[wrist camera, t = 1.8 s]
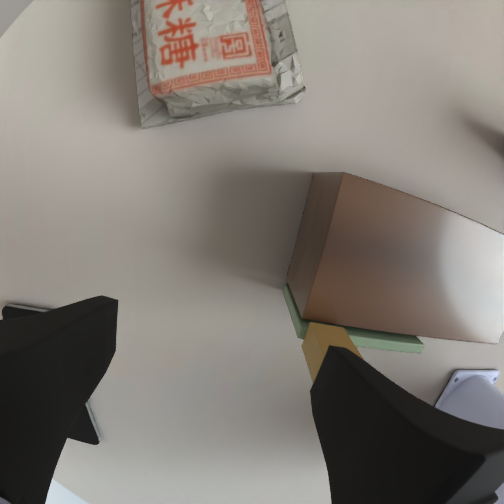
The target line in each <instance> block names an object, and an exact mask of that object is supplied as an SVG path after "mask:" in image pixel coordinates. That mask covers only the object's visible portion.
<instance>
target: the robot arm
mask: <svg viewBox="0 0 504 504" xmlns="http://www.w3.org/2000/svg"><path fill="white" fill-rule="evenodd" d="M117 312H118V300H116V299H113V298H109V297H106V296H97V297H93V298H89V299H86V300H82V301H79V302H76V303H73V304H70V305H66V306H63V307H60V308H56V309H53V310H49V311H45V312H41V313H37V314H33V315H29V316H24V317H18V318H11V319H3V320H0V504H45V501H46V498H47V493H48V490H49V487H50V483H51V480H52V477H53V474H54V471H55V468H56V465H57V462H58V460H59V457H60V454H61V452H62V449H63V446H64V444H65V442H66V439H67V437H68V435H69V433H70V430H71V428H72V426H73V424H74V422H75V420H76V419H77V417H78V415H79V413H80V412H81V410H82V409H83V407H84V406H85V404H86V402H87V401H88V399H89V398H90V396H91V395H92V393H93V392H94V390H95V389H96V387H97V385H98V384H99V382H100V381H101V379H102V378H103V376H104V374H105V373H106V371H107V369H108V367H109V364H110V362H111V360H112V358H113V356H114V353H115V351H116V329H117ZM499 374H500V371H499V370H457V371H455V372H454V374H453V376H452V377H451V379H450V381H449V383H448V385H447V386H446V388H445V390H444V392H443V393H442V395H441V397H440V398H439V400H438V402H437V403H436V405H435V406H434V407H433V406H431V405H429V404H428V403H426V402H424V401H422V400H420V399H418V398H417V397H415V396H413V395H412V394H410V393H408V392H407V391H405V390H404V389H402V388H401V387H399V386H398V385H397V384H395V383H394V382H392V381H391V380H389V379H388V378H387V377H385V376H384V375H383V374H381V373H380V372H379V371H377V370H376V369H375V368H374V367H372V366H371V365H370V364H368V363H367V362H366V361H364V360H363V359H362V358H360V357H359V356H358V355H356V354H355V353H353V352H352V351H350V350H349V349H347V348H345V347H338V346H331V345H329V347H328V349H327V352H326V354H325V357H324V359H323V362H322V364H321V367H320V369H319V371H318V374H317V376H316V378H315V381H314V383H313V385H312V388H311V390H310V395H311V405H312V413H313V418H314V422H315V425H316V429H317V433H318V436H319V440H320V443H321V447H322V451H323V454H324V458H325V462H326V466H327V470H328V476H329V483H330V491H331V501H332V504H504V395H503V394H502V393H501V392H500V391H499V390H498V389H497V388H496V387H495V386H494V384H495V382H496V380H497V378H498V376H499Z"/></svg>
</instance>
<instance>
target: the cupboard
mask: <svg viewBox="0 0 504 504" xmlns="http://www.w3.org/2000/svg"><path fill="white" fill-rule="evenodd" d="M286 279H287V282H288V284H289V287H290V289H291V292H292V294H293V297H294V299H295V302H296V304H297V307H298V309H299V312H300V314H301V317H302V318H303V319H308V320H314V321H320V322H326V323H332V324H338V325H344V326H350V327H357V328H363V329H370V330H377V331H384V332H391V333H398V334H406V335H414V336H422V337H430V338H439V339H448V340H457V341H467V342H478V343H490V344H497V343H498V341H499V339H500V336H501V334H502V332H503V330H504V234H502V233H500V232H498V231H496V230H494V229H492V228H490V227H487V226H485V225H483V224H481V223H479V222H476V221H474V220H472V219H470V218H467V217H465V216H463V215H460V214H458V213H456V212H453V211H451V210H448V209H446V208H444V207H441V206H439V205H436V204H434V203H431V202H428V201H426V200H423V199H421V198H418V197H415V196H413V195H410V194H407V193H405V192H402V191H399V190H396V189H393V188H391V187H388V186H385V185H382V184H379V183H376V182H373V181H370V180H367V179H364V178H361V177H358V176H355V175H351V174H348V173H345V172H320V173H313V177H312V181H311V185H310V189H309V193H308V197H307V201H306V205H305V209H304V213H303V217H302V221H301V224H300V228H299V232H298V236H297V240H296V243H295V247H294V251H293V255H292V258H291V262H290V266H289V269H288V273H287V277H286Z"/></svg>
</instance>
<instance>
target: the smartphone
mask: <svg viewBox="0 0 504 504" xmlns="http://www.w3.org/2000/svg"><path fill="white" fill-rule="evenodd" d="M45 311H49V310H45V309H39V308H32V307H26V306H20V305H14V304H8V305H6V306H5V307H4V308H3V310H2V316H3V319H11V318H18V317H24V316H29V315H33V314H37V313H41V312H45ZM67 438H71V439H74V440H78V441H81V442H85V443H89V444H93V445H97V444H99V442H100V440H101V437H100V434H99V431H98V429H97V426H96V424H95V421H94V418H93V416H92V413H91V410H90V407H89V404H88V401H87V402H86V404H85V406H84V407H83V409H82V410H81V412H80V413H79V415H78V417H77V419H76V420H75V422H74V424H73V426H72V428H71V430H70V433H69V435H68V437H67Z"/></svg>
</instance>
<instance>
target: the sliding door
mask: <svg viewBox="0 0 504 504" xmlns="http://www.w3.org/2000/svg"><path fill="white" fill-rule="evenodd" d="M283 293H284V296H285V299H286V303H287V306H288V309H289V312H290V315H291V318H292V321H293V324H294V327H295V330H296V334H297V337H298V338H301V339H304V341H303V344H302V349H303V353H304V356H305V359H306V362H307V365H308V368H309V371H310V374H311V377H312V381H313V383H314V381H315V378H316V376H317V374H318V371H319V369H320V367H321V364H322V362H323V359H324V357H325V354H326V352H327V349H328V347H329V345H331V346H338V347H345V348H347V349H349V350H350V351H352V352H353V353H355V354H356V355H358V356H359V357H360V358H362V356H361V355H360V353H359V351H358V350H357V348H356V347H364V348H372V349H381V350H390V351H400V352H410V353H421V351H422V349H423V347H424V344H423V343H422V342H421V341H420V340H419V339H418V338H417V337H416V336H414V335H406V334H398V333H391V332H384V331H377V330H370V329H363V328H357V327H350V326H344V325H338V324H332V323H326V322H320V321H314V320H308V319H303V318H302V317H301V314H300V312H299V309H298V307H297V304H296V302H295V299H294V297H293V294H292V292H291V289H290V287H289V285H285V287H284V290H283ZM362 359H363V358H362Z"/></svg>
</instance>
